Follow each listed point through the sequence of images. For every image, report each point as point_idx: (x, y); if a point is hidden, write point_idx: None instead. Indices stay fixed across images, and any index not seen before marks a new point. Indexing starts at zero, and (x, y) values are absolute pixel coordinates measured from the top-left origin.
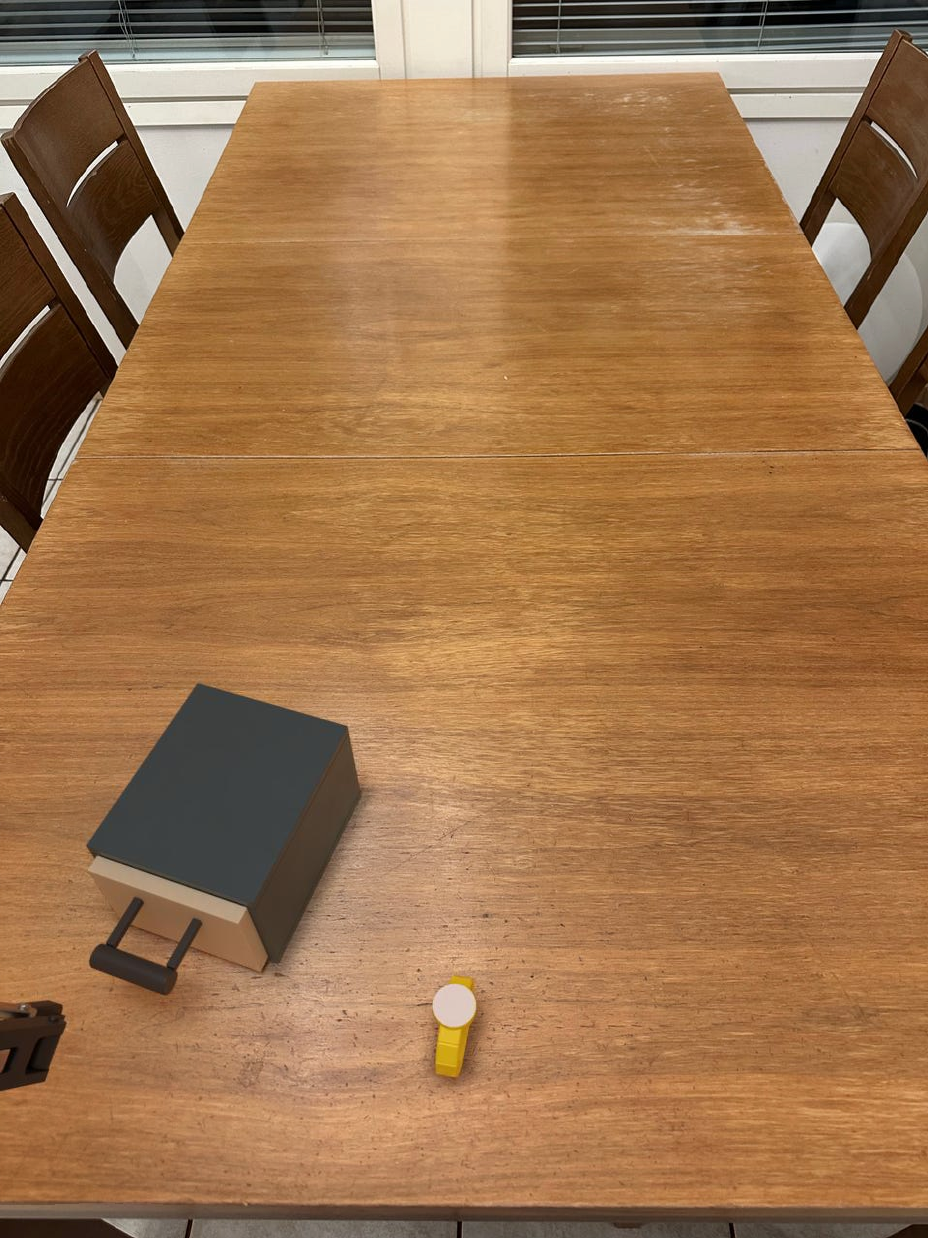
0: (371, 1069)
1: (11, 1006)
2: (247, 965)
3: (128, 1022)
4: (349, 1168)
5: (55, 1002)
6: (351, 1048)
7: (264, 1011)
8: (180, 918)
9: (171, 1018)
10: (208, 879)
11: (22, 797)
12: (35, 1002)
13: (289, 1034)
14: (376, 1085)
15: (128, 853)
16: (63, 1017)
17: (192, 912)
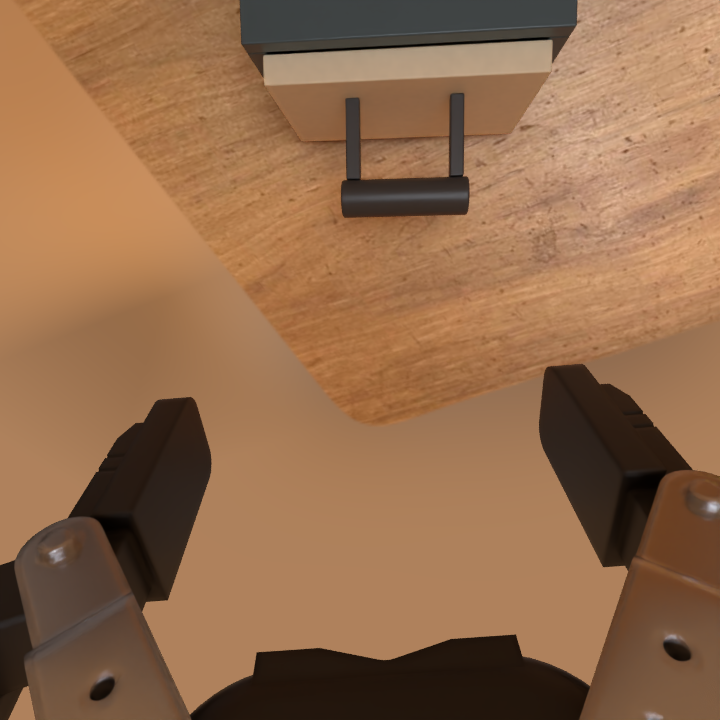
0: (687, 191)
1: (704, 527)
2: (494, 131)
3: (376, 248)
4: (699, 297)
5: (571, 367)
6: (653, 177)
7: (528, 176)
8: (420, 103)
9: (423, 225)
10: (479, 15)
11: (60, 34)
12: (588, 410)
13: (571, 190)
14: (699, 205)
15: (319, 27)
16: (629, 397)
17: (456, 84)
